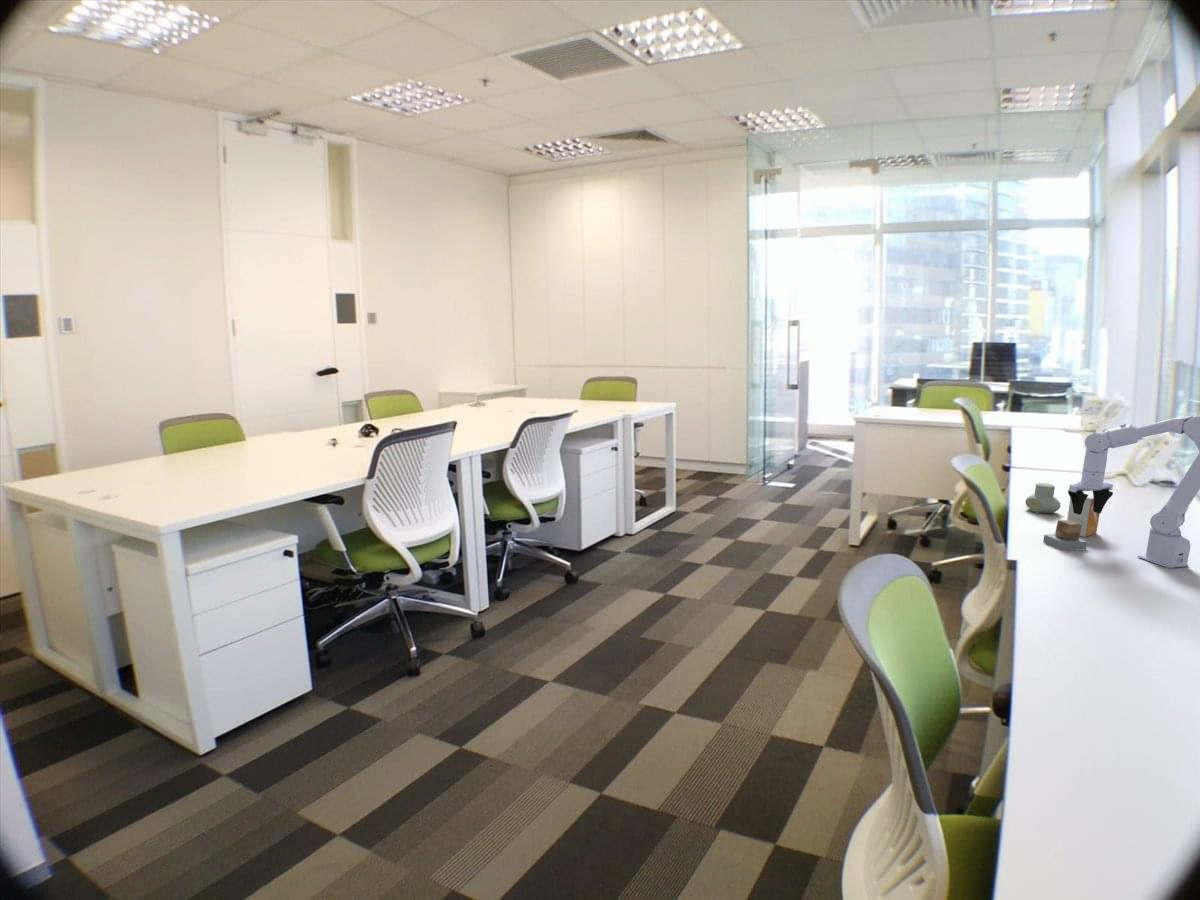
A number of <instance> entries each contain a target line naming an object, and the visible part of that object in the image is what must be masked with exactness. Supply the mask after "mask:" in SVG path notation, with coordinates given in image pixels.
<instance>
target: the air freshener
mask: <svg viewBox="0 0 1200 900" xmlns="http://www.w3.org/2000/svg"><path fill="white" fill-rule="evenodd" d="M1054 495H1055V485H1054V484H1050V483H1045V482H1044V483H1043V482H1042V483H1041V482H1038V483H1036V484H1035V488H1034V494H1031V495H1029V496H1027V498H1025V506H1026V508H1028V509H1029V510H1031V511H1032V510H1033V511H1032V512H1034V511H1035V512H1034V513H1036V512H1039V513H1038V514H1053V513H1055V512H1057V511H1059V510H1060V508H1061V502H1060V501H1059V499H1057V498H1056V497H1055V496H1054Z"/></svg>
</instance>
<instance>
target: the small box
mask: <svg viewBox="0 0 1200 900" xmlns="http://www.w3.org/2000/svg"><path fill="white" fill-rule="evenodd" d="M1083 492H1084V494H1087V495H1088V497H1087V498H1086V500H1085V502H1084V505H1083V510H1082V513H1081V515H1078V514H1075V513H1074V512H1073V505H1072V501H1071V498H1070V497H1069V506H1068V512H1067V519H1066V520H1070V521H1073V522H1076V523H1079V524H1082V527H1081V532H1080V537H1085V538H1086V537H1089V536H1093V535H1096V534H1097V531H1098V527H1099V526H1098V525H1099V519H1100V514H1101V513H1096V512H1093V503H1094V497H1093V492H1088V491H1083Z"/></svg>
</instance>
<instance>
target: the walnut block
mask: <svg viewBox="0 0 1200 900" xmlns="http://www.w3.org/2000/svg"><path fill="white" fill-rule="evenodd" d="M1056 523H1057V524H1056V526H1055V527H1056V528H1055V532H1054V534H1055V536H1057V537H1060V538H1063V539H1066V540H1079V539H1080V537H1081V536H1080V532H1081V527H1082V524H1079V523H1076V522H1073V521H1070V520H1067V519H1066V520H1065V519H1058V520H1057V521H1056Z"/></svg>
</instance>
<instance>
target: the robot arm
mask: <svg viewBox="0 0 1200 900" xmlns="http://www.w3.org/2000/svg"><path fill="white" fill-rule="evenodd" d="M1170 432H1173V433H1176V434H1178V435H1183V434H1185V435H1186V436H1187V437H1188V438H1189V439H1190V440H1191V441H1193V442H1194V444H1195V446H1196V447H1197V450H1198V451H1199V452H1198V454H1197V456H1196V457H1195V459H1194V460H1193V462H1192V463H1191V466H1190V467H1189V468H1188V470H1186V473H1185V474H1184V476H1183V478H1182V479H1181V481H1180V482H1179V484H1178V485H1177V486H1176V488H1175V490H1174V491H1173V492H1172V494H1171V496H1170V498H1169V499H1168V501H1167V502H1166V503H1165V504H1164V505H1163V506H1162V508H1161V509H1160V511H1158V512H1156V513H1154V514H1153V515H1152V516H1151V518H1150V521H1149V523H1150V528H1149V534H1148V541H1147V545H1146V552H1145V554H1140V555H1137V558H1139V559H1142V560H1145V561H1148V562H1151V563H1153V564H1156V565H1159V566H1161V567H1164V568H1167V569H1171V568H1182V567H1189V566H1190V564H1189V563H1188V562H1189V555H1190V551H1191V542H1190V540H1189V539H1188V538H1185V537H1184V536H1183V535H1182V531H1181V529H1180V527H1181V526H1183V525H1184V523H1185V521H1186V517H1185V516H1186V513H1187V511H1188V510H1189V506H1190V505H1191V503H1192V502H1193V500H1194V499H1195V497H1196V496H1197V495H1198V493H1199V491H1200V414H1197V415H1196V416H1194V415H1187V416H1178V417H1173V418H1170V419H1165V420H1161V421H1157V422H1154V423H1150V424H1146V425H1142V426H1139V427H1137V426H1135V425H1132V424H1126V423H1122V424H1120V425H1119V427H1115V428H1110V429H1107V428H1104V429H1102V430H1101V431H1097V432H1092V433H1090V434H1089V435H1087V437H1086V438H1085V440H1084V446H1085V448H1086V449H1085V455H1084V458H1083V466H1082V470H1081V471H1082V472H1081V479H1080V481H1078V483H1075V484H1069V487H1068V490H1067V494H1068V496H1069V499H1070V498H1071V501H1072V505H1073V512H1074V513H1075V514H1078V515H1081V513H1082V510H1083V505H1084V502H1085V500H1086V498H1087V497H1088V495H1087V494H1084V492H1091V491H1092V494H1093V497H1094V503H1093V512H1096V513H1100V514H1101V513H1102V511H1103V509H1104V507H1105V505H1106V503H1107V502H1108V501H1109V499H1110V498H1111V497H1113V494H1114V491H1113V487H1114V484H1113V483H1109V482H1104V479H1105V473H1106V468H1107V467H1106V466H1107V461H1108V454H1109V453H1108V452H1109V449H1116V448H1121V447H1124V446H1128V445H1129V446H1130V445H1134V444H1138V442H1139V441H1140V439H1141V438H1145V437H1150V436H1155V435H1159V434H1165V433H1170Z"/></svg>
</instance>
